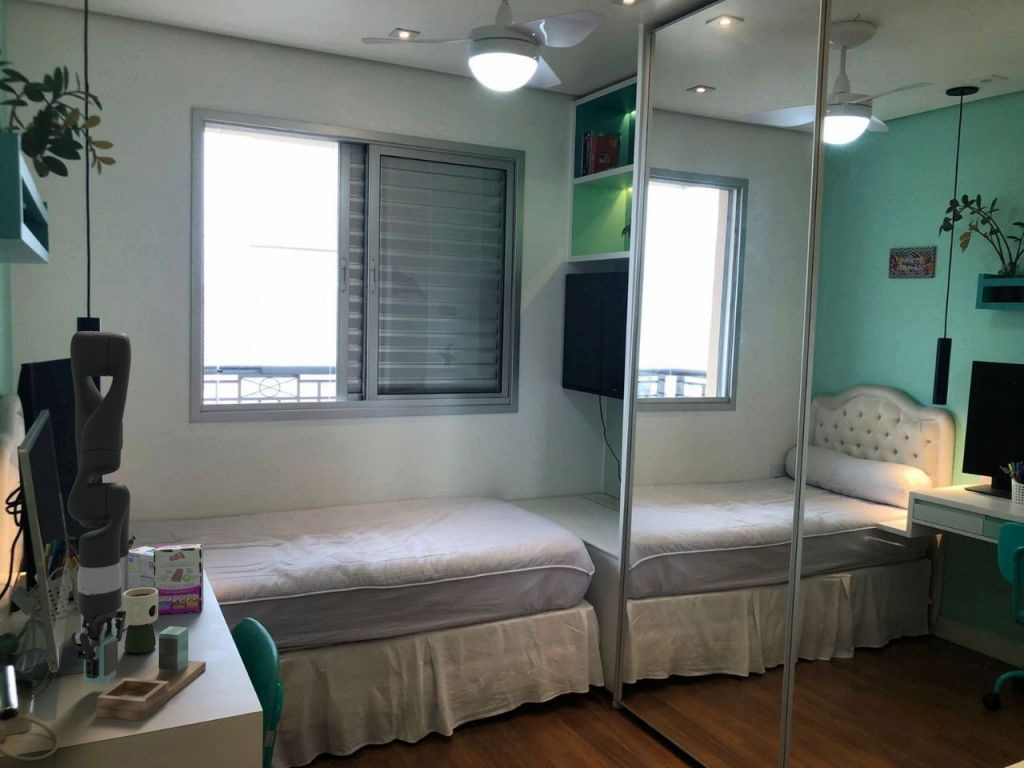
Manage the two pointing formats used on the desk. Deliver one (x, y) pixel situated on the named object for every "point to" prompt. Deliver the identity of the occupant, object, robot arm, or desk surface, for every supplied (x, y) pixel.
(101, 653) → the teal rectangular prism
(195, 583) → the candy bar box
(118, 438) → the robot arm
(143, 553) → the light bulb box
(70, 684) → the desk surface
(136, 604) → the character mug
